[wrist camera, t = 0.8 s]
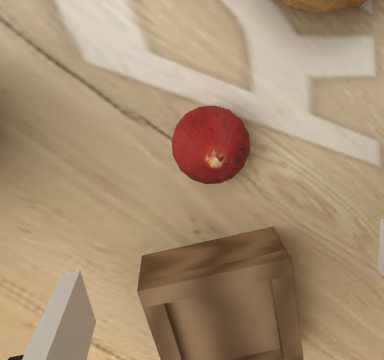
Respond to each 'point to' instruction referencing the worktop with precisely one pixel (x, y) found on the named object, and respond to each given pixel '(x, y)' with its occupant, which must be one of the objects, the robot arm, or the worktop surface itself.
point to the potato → (322, 5)
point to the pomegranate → (210, 144)
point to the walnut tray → (222, 300)
